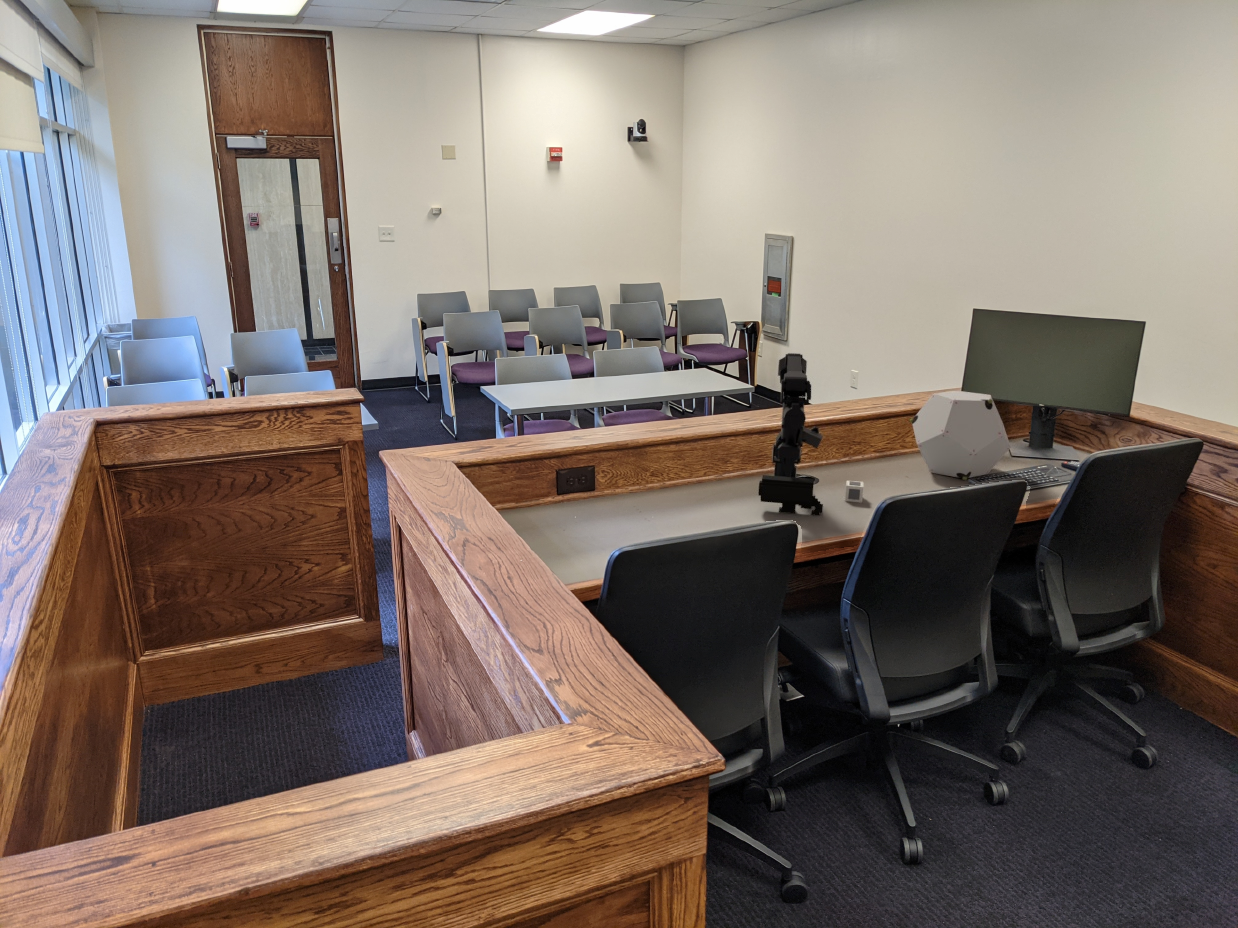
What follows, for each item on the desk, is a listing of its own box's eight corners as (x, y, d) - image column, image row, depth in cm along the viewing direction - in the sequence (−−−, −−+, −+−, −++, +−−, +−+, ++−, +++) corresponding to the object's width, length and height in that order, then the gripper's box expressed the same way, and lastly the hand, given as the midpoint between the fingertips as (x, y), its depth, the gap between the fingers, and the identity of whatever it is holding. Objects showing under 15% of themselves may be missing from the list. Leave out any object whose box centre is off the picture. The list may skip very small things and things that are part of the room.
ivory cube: (844, 501, 265) (846, 485, 263) (845, 495, 270) (846, 480, 268) (862, 502, 264) (863, 486, 262) (862, 497, 268) (863, 481, 267)
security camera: (822, 518, 250) (824, 485, 247) (756, 513, 254) (758, 480, 251) (822, 510, 257) (824, 478, 254) (758, 505, 261) (760, 473, 258)
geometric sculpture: (967, 507, 281) (932, 432, 271) (916, 481, 309) (882, 412, 299) (1042, 456, 283) (1010, 379, 272) (984, 435, 311) (953, 364, 301)
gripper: (820, 430, 237) (816, 484, 242) (823, 414, 254) (819, 465, 259) (778, 427, 240) (775, 481, 245) (784, 411, 257) (781, 462, 262)
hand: (789, 472), depth 252 cm, fingers open, 9 cm apart
